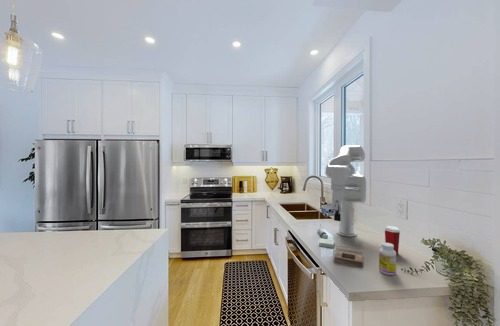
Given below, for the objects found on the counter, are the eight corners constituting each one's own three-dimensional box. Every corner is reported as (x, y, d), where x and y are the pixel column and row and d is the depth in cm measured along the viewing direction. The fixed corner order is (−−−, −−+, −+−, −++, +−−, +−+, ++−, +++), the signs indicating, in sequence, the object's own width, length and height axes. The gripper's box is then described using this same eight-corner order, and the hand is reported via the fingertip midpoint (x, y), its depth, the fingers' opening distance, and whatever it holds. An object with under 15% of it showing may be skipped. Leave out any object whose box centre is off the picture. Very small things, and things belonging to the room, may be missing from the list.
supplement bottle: (375, 268, 105) (376, 241, 105) (389, 268, 105) (389, 241, 105) (385, 276, 98) (385, 247, 98) (399, 275, 99) (399, 246, 99)
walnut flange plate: (336, 250, 126) (336, 245, 126) (362, 254, 121) (362, 249, 121) (334, 262, 112) (334, 256, 112) (362, 267, 106) (362, 261, 106)
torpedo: (329, 240, 143) (329, 230, 143) (322, 240, 144) (322, 230, 143) (322, 231, 161) (322, 222, 161) (315, 231, 161) (315, 222, 161)
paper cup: (397, 251, 125) (398, 226, 125) (402, 256, 118) (402, 230, 118) (382, 249, 128) (382, 225, 128) (385, 254, 121) (385, 229, 121)
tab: (321, 241, 140) (321, 238, 140) (334, 243, 137) (334, 240, 137) (319, 245, 133) (319, 242, 133) (333, 248, 130) (333, 244, 130)
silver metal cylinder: (334, 218, 129) (334, 210, 129) (342, 219, 127) (342, 210, 127) (333, 220, 125) (333, 211, 125) (341, 221, 123) (341, 212, 123)
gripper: (332, 186, 135) (332, 216, 135) (329, 188, 121) (328, 222, 120) (346, 186, 132) (346, 217, 132) (343, 189, 117) (343, 224, 117)
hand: (337, 219), depth 126 cm, fingers closed on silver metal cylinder, 4 cm apart
